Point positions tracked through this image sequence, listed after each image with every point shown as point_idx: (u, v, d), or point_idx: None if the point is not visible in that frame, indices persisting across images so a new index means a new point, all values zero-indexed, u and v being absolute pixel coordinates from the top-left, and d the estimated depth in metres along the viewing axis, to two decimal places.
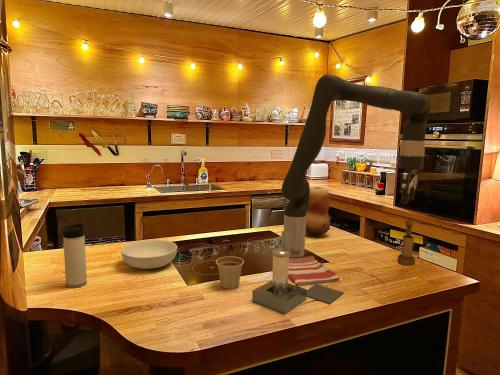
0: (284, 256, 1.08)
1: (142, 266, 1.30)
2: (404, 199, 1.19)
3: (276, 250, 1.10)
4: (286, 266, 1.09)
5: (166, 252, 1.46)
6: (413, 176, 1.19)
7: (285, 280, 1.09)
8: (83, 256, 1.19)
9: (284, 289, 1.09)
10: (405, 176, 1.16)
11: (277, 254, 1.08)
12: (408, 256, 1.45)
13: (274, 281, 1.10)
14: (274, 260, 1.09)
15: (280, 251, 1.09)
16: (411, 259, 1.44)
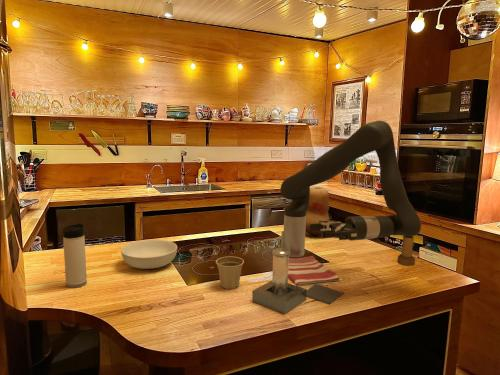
0: (284, 256, 1.08)
1: (142, 266, 1.30)
2: None
3: (276, 250, 1.10)
4: (286, 266, 1.09)
5: (166, 252, 1.46)
6: None
7: (285, 280, 1.09)
8: (83, 256, 1.19)
9: (284, 289, 1.09)
10: None
11: (277, 254, 1.08)
12: (408, 256, 1.45)
13: (274, 281, 1.10)
14: (274, 260, 1.09)
15: (280, 251, 1.09)
16: (411, 259, 1.44)
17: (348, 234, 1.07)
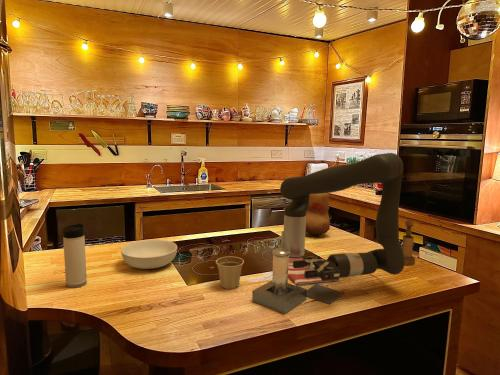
0: (284, 256, 1.08)
1: (142, 266, 1.30)
2: None
3: (276, 250, 1.10)
4: (286, 266, 1.09)
5: (166, 252, 1.46)
6: None
7: (285, 280, 1.09)
8: (83, 256, 1.19)
9: (284, 289, 1.09)
10: None
11: (277, 254, 1.08)
12: (408, 256, 1.45)
13: (274, 281, 1.10)
14: (274, 260, 1.09)
15: (280, 251, 1.09)
16: (411, 259, 1.44)
17: (331, 274, 1.07)
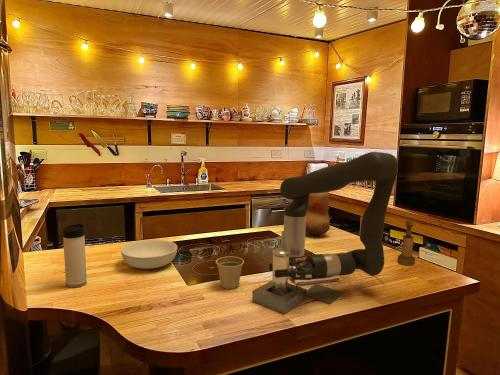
0: (284, 256, 1.08)
1: (142, 266, 1.30)
2: None
3: (276, 250, 1.10)
4: (286, 266, 1.09)
5: (166, 252, 1.46)
6: None
7: (285, 280, 1.09)
8: (83, 256, 1.19)
9: (284, 289, 1.09)
10: None
11: (277, 254, 1.08)
12: (408, 256, 1.45)
13: (274, 281, 1.10)
14: (274, 260, 1.09)
15: (280, 251, 1.09)
16: (411, 259, 1.44)
17: (301, 275, 1.06)
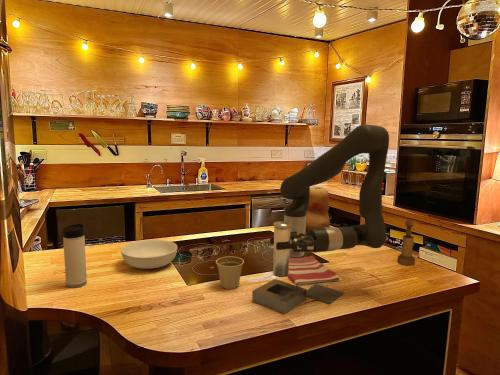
0: (285, 228, 1.06)
1: (142, 266, 1.30)
2: None
3: (277, 223, 1.09)
4: (287, 238, 1.07)
5: (166, 252, 1.46)
6: None
7: (286, 253, 1.08)
8: (83, 256, 1.19)
9: (285, 262, 1.08)
10: None
11: (278, 226, 1.06)
12: (408, 256, 1.45)
13: (275, 254, 1.08)
14: (275, 232, 1.08)
15: (281, 223, 1.08)
16: (411, 259, 1.44)
17: (303, 246, 1.05)
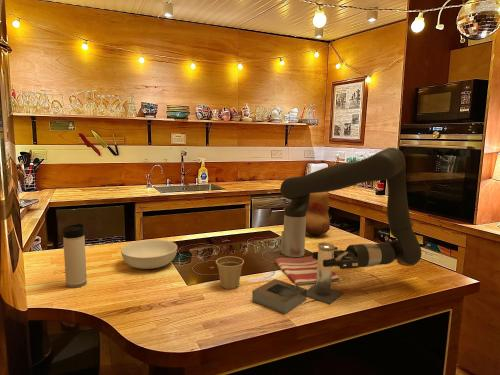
0: (330, 250, 1.13)
1: (142, 266, 1.30)
2: None
3: (321, 244, 1.15)
4: None
5: (166, 252, 1.46)
6: None
7: (330, 273, 1.14)
8: (83, 256, 1.19)
9: (328, 282, 1.14)
10: None
11: (323, 248, 1.13)
12: None
13: (319, 274, 1.15)
14: (320, 254, 1.14)
15: (325, 245, 1.14)
16: None
17: (349, 263, 1.10)
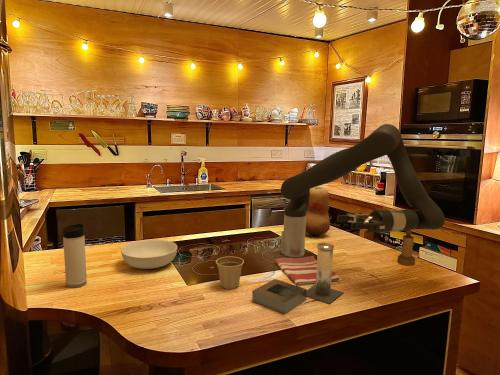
0: (329, 250, 1.13)
1: (142, 266, 1.30)
2: None
3: (321, 244, 1.15)
4: (331, 260, 1.14)
5: (166, 252, 1.46)
6: None
7: (329, 273, 1.14)
8: (83, 256, 1.19)
9: (328, 282, 1.14)
10: None
11: (323, 248, 1.13)
12: (408, 256, 1.45)
13: (319, 274, 1.15)
14: (319, 254, 1.14)
15: (325, 245, 1.14)
16: (411, 259, 1.44)
17: (377, 226, 1.11)
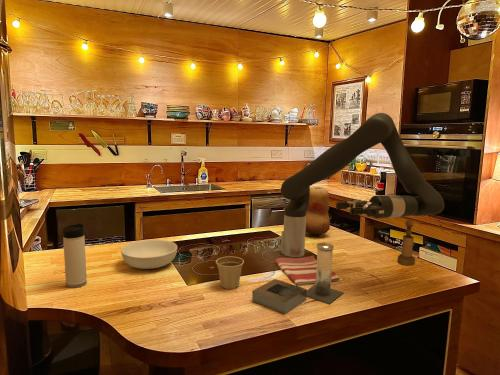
0: (329, 250, 1.13)
1: (142, 266, 1.30)
2: None
3: (320, 244, 1.15)
4: (330, 260, 1.14)
5: (166, 252, 1.46)
6: None
7: (329, 273, 1.14)
8: (83, 256, 1.19)
9: (328, 282, 1.14)
10: None
11: (322, 248, 1.13)
12: (408, 256, 1.45)
13: (319, 274, 1.15)
14: (319, 254, 1.14)
15: (324, 245, 1.14)
16: (411, 259, 1.44)
17: (376, 211, 1.11)
